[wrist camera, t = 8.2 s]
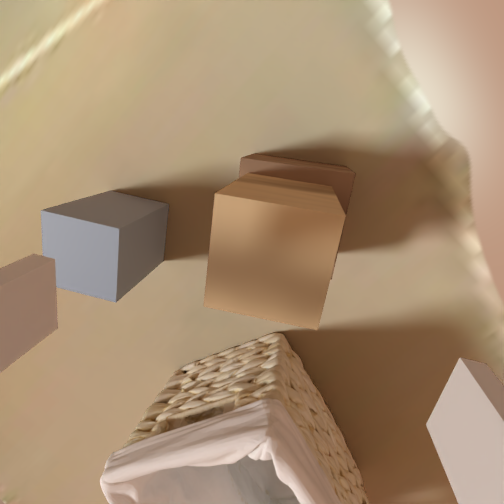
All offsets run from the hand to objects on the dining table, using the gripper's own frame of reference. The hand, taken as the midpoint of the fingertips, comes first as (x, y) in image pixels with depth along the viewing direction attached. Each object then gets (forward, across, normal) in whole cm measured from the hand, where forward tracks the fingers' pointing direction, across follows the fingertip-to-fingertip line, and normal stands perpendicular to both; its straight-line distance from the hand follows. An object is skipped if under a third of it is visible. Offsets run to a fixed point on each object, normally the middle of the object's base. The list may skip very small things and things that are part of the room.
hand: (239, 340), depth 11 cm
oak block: (+15, 0, 0) cm, 15 cm away
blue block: (+21, -14, -5) cm, 25 cm away
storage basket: (+21, +4, -25) cm, 33 cm away
